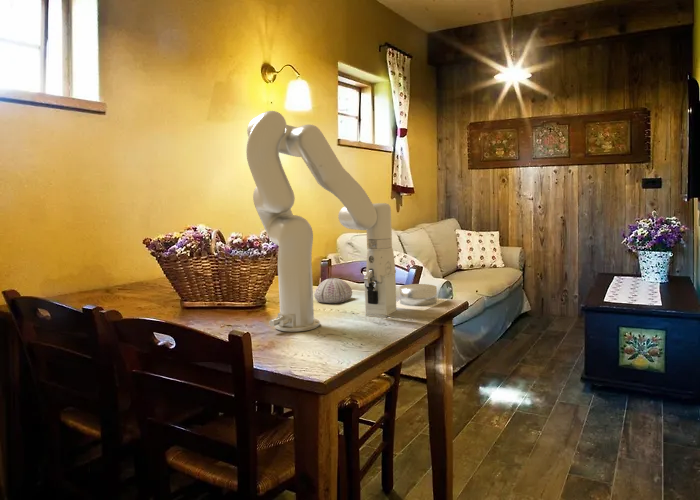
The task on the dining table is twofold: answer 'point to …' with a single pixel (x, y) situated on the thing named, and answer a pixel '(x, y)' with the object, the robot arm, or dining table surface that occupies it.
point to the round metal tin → (418, 295)
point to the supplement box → (383, 298)
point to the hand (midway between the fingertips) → (381, 300)
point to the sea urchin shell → (333, 291)
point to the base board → (418, 306)
